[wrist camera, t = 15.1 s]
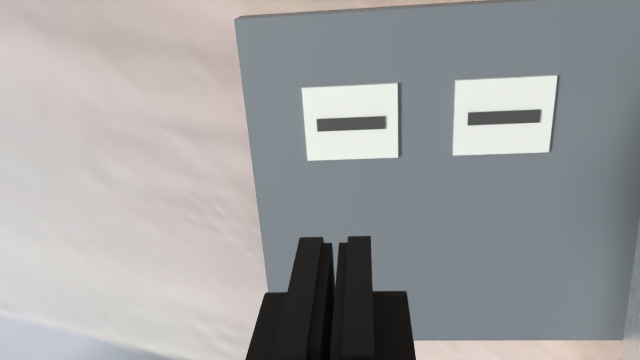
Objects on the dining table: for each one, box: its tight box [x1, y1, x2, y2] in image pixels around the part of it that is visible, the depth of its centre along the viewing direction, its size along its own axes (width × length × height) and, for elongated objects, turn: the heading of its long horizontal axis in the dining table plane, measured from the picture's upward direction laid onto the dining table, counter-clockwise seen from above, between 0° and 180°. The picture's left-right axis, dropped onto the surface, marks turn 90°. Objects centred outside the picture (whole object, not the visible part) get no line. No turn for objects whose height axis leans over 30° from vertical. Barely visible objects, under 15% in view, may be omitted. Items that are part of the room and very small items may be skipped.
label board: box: [234, 0, 640, 340], centre depth 26 cm, size 22×18×2 cm
